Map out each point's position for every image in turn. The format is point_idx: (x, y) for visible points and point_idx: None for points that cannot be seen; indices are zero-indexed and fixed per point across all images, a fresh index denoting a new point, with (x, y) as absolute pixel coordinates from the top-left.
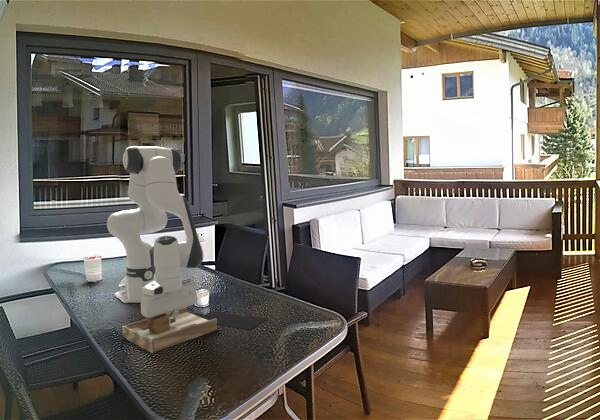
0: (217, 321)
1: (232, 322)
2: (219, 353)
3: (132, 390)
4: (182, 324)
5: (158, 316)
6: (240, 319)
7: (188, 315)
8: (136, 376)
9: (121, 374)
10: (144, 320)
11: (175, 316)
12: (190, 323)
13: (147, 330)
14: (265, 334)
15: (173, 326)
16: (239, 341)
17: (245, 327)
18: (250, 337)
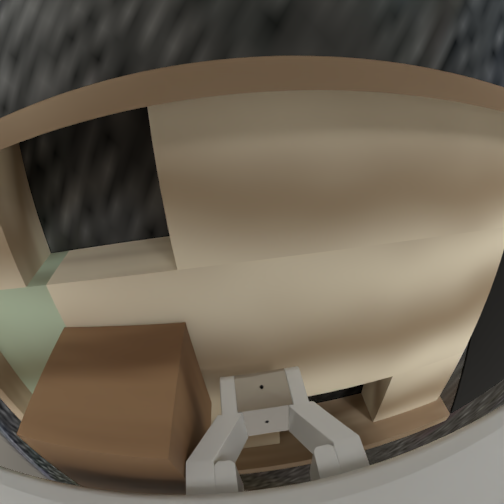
0: (499, 301)
1: (498, 341)
2: (277, 484)
3: (51, 479)
4: (338, 359)
5: (123, 485)
6: None
7: (491, 212)
8: (50, 464)
9: (14, 442)
10: (25, 139)
11: (302, 438)
12: (380, 367)
13: (52, 310)
14: (434, 438)
15: (267, 360)
16: (369, 457)
17: (465, 395)
18: (405, 445)
